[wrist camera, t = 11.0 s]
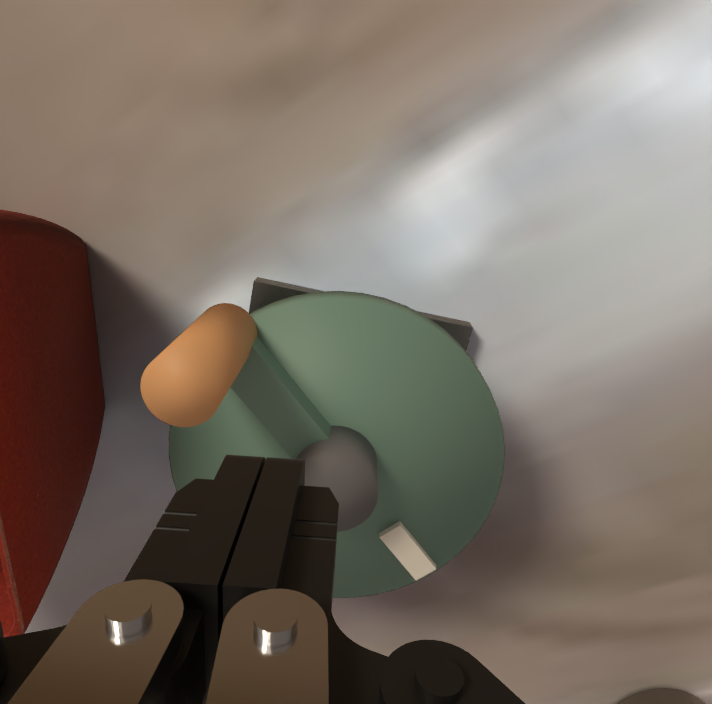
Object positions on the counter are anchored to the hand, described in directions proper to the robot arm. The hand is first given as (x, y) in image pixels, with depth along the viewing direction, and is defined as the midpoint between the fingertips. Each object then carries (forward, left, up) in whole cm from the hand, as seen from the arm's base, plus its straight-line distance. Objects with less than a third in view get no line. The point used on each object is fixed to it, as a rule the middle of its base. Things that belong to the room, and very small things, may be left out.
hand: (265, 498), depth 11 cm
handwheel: (-9, -2, -19) cm, 21 cm away
